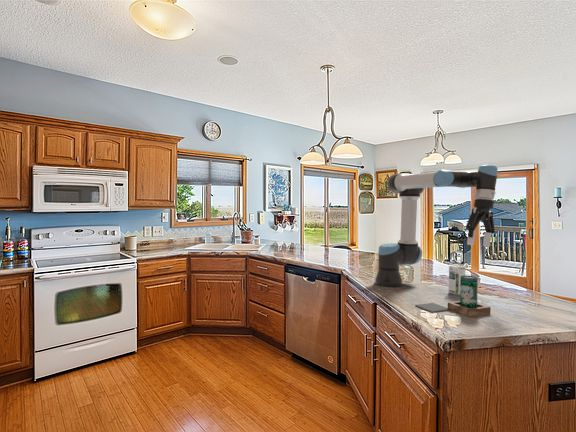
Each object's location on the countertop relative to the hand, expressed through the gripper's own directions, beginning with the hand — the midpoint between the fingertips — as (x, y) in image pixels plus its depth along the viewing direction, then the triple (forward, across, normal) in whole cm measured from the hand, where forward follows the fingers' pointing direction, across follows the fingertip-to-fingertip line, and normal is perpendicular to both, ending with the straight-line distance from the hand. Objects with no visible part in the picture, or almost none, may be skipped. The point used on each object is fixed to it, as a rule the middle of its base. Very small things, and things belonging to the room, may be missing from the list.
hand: (478, 245), depth 149 cm
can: (+28, -10, -4) cm, 31 cm away
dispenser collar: (+28, -10, -4) cm, 30 cm away
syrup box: (+27, +15, +16) cm, 35 cm away
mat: (+30, -19, +6) cm, 36 cm away
